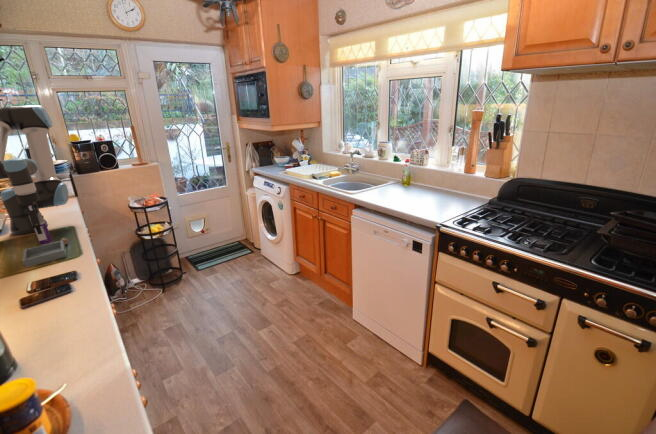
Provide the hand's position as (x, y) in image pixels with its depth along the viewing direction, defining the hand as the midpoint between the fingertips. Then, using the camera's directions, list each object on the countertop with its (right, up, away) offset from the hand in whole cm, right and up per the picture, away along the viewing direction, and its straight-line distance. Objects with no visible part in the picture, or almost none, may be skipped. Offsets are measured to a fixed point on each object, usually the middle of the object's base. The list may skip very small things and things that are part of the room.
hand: (43, 235), depth 158 cm
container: (0, -4, +2) cm, 4 cm away
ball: (+11, -4, -1) cm, 12 cm away
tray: (+11, -8, -12) cm, 18 cm away
